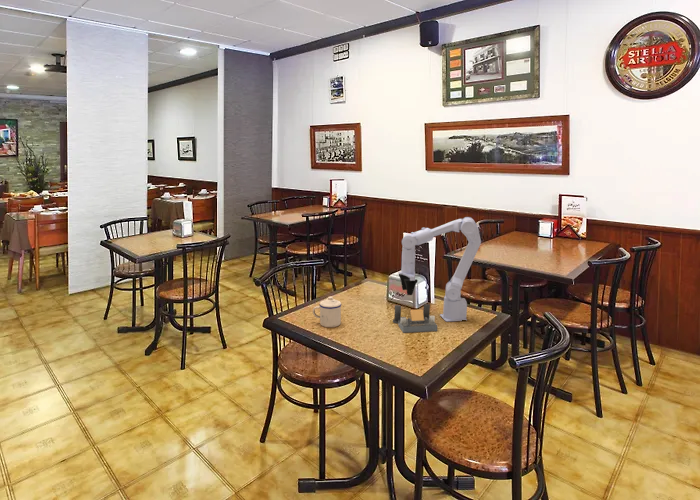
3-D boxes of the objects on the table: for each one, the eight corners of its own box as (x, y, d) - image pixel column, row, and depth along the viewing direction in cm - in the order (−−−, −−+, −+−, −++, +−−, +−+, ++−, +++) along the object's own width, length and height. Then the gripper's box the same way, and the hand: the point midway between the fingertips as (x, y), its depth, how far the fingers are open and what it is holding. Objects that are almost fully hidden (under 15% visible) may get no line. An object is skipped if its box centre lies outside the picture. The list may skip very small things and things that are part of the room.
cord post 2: (429, 318, 193) (429, 303, 191) (432, 321, 189) (432, 306, 187) (420, 318, 192) (420, 303, 191) (423, 322, 188) (423, 306, 187)
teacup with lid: (342, 320, 190) (342, 294, 187) (339, 328, 181) (339, 301, 179) (315, 318, 191) (314, 293, 189) (310, 326, 183) (310, 299, 180)
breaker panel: (430, 323, 187) (431, 312, 186) (437, 331, 179) (437, 319, 178) (398, 325, 185) (398, 314, 184) (403, 332, 177) (403, 321, 176)
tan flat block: (424, 321, 182) (422, 310, 183) (424, 321, 181) (423, 309, 182) (410, 322, 181) (409, 310, 183) (411, 322, 180) (410, 310, 181)
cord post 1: (400, 319, 191) (401, 304, 189) (403, 323, 187) (403, 307, 185) (391, 320, 190) (392, 304, 189) (393, 323, 186) (394, 307, 185)
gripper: (395, 258, 198) (394, 287, 201) (403, 266, 184) (402, 297, 187) (410, 258, 199) (409, 287, 202) (420, 265, 185) (419, 297, 188)
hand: (407, 292), depth 195 cm, fingers open, 7 cm apart
